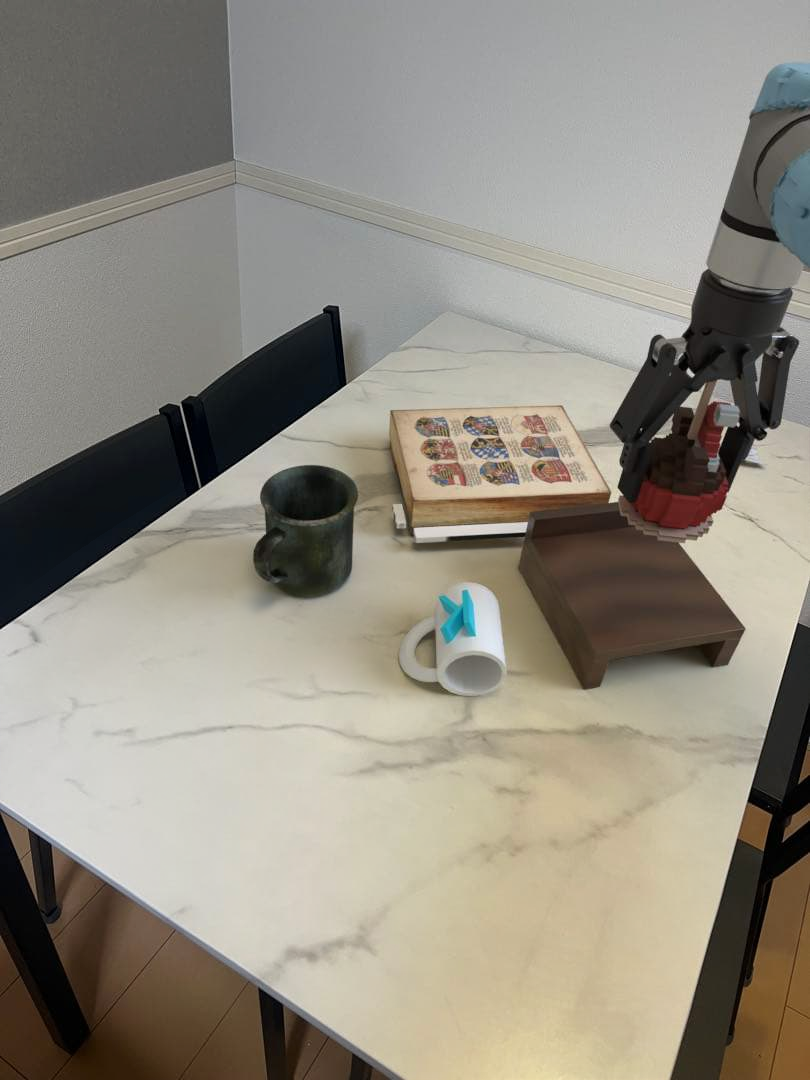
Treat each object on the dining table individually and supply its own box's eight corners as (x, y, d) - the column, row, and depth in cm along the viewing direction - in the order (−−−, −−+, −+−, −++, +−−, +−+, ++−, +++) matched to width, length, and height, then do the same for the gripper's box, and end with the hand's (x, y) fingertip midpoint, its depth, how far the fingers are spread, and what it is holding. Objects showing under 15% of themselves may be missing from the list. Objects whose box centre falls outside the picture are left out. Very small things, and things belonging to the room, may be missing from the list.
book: (399, 555, 102) (608, 543, 106) (402, 516, 97) (619, 505, 102) (375, 447, 120) (554, 441, 124) (377, 410, 116) (562, 405, 120)
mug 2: (482, 550, 87) (490, 631, 78) (504, 606, 93) (514, 687, 84) (382, 576, 90) (378, 657, 81) (409, 629, 96) (408, 710, 86)
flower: (730, 442, 129) (737, 427, 128) (777, 464, 125) (784, 449, 124) (710, 452, 124) (717, 436, 123) (757, 475, 120) (765, 459, 119)
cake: (612, 483, 88) (658, 331, 76) (697, 493, 88) (755, 342, 76) (623, 545, 80) (676, 386, 68) (717, 556, 80) (785, 398, 68)
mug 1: (373, 564, 99) (377, 487, 92) (297, 633, 90) (295, 553, 82) (305, 529, 104) (304, 453, 96) (226, 591, 94) (217, 511, 86)
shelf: (728, 664, 91) (756, 609, 85) (583, 689, 86) (602, 632, 81) (645, 550, 105) (664, 496, 99) (517, 567, 101) (530, 511, 95)
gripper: (832, 256, 73) (747, 459, 87) (608, 264, 67) (557, 478, 82) (889, 290, 67) (789, 500, 81) (650, 301, 62) (588, 524, 76)
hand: (673, 489), depth 82 cm, fingers closed on cake, 10 cm apart
